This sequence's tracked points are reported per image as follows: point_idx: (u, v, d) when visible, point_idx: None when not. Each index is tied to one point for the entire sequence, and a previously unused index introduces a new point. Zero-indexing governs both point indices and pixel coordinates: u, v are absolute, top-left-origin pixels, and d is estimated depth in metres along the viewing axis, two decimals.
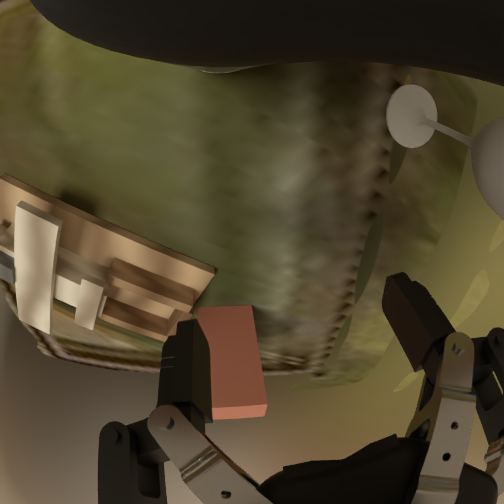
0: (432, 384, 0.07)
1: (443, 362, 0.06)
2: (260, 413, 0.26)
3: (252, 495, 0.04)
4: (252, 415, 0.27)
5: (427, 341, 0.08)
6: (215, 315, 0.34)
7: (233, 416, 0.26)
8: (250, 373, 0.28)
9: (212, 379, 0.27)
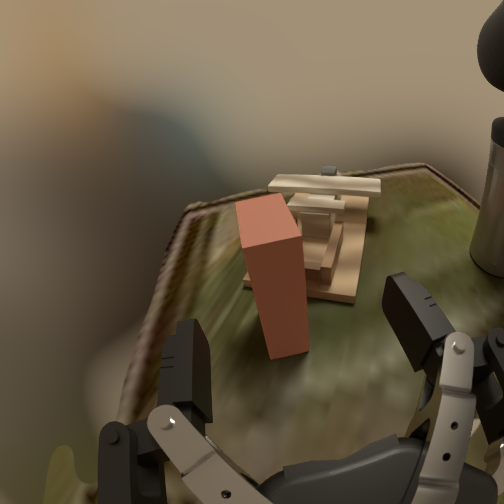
0: (432, 384, 0.07)
1: (443, 362, 0.06)
2: (260, 239, 0.18)
3: (252, 495, 0.04)
4: (249, 235, 0.19)
5: (427, 341, 0.08)
6: None
7: (249, 219, 0.21)
8: None
9: None
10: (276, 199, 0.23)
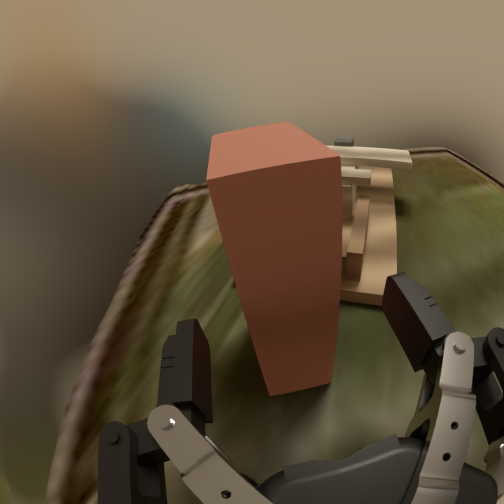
0: (432, 384, 0.07)
1: (443, 362, 0.06)
2: (248, 165, 0.08)
3: (252, 495, 0.04)
4: (227, 161, 0.09)
5: (427, 341, 0.08)
6: None
7: (230, 146, 0.10)
8: None
9: None
10: (281, 125, 0.12)
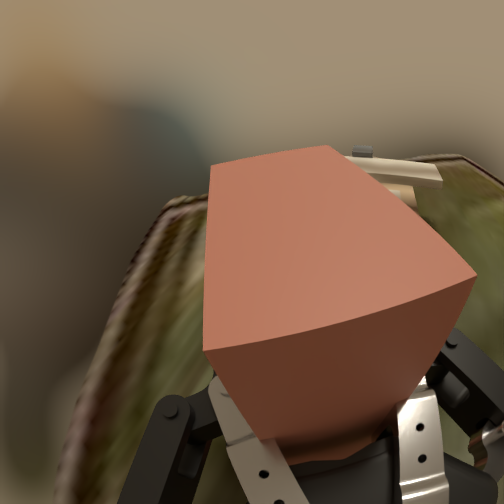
0: None
1: None
2: (300, 299, 0.03)
3: (288, 481, 0.05)
4: (246, 268, 0.04)
5: None
6: None
7: (245, 204, 0.06)
8: None
9: None
10: (321, 154, 0.08)
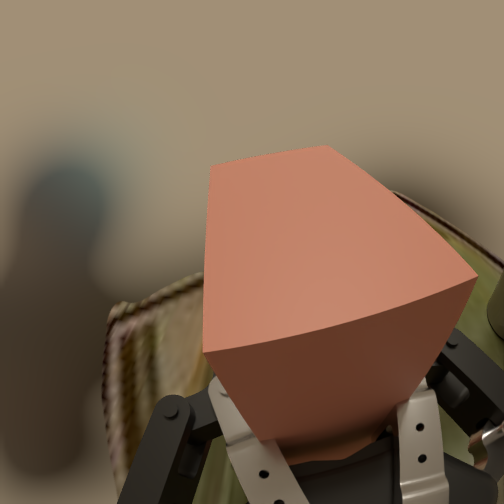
0: None
1: None
2: (300, 301, 0.03)
3: (289, 481, 0.05)
4: (246, 269, 0.04)
5: None
6: None
7: (245, 205, 0.06)
8: None
9: None
10: (322, 154, 0.08)
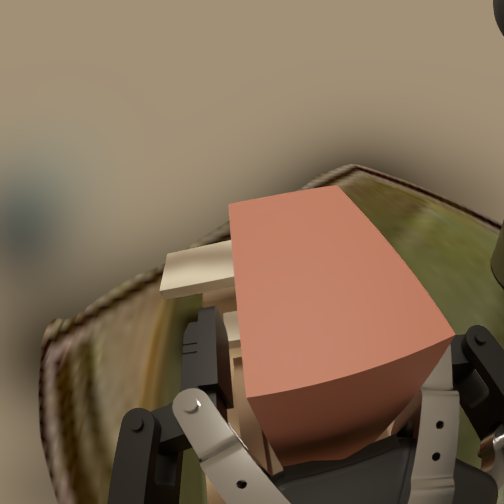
0: None
1: None
2: (317, 357, 0.04)
3: (267, 488, 0.04)
4: (273, 327, 0.05)
5: None
6: None
7: (266, 258, 0.07)
8: None
9: None
10: (332, 198, 0.09)
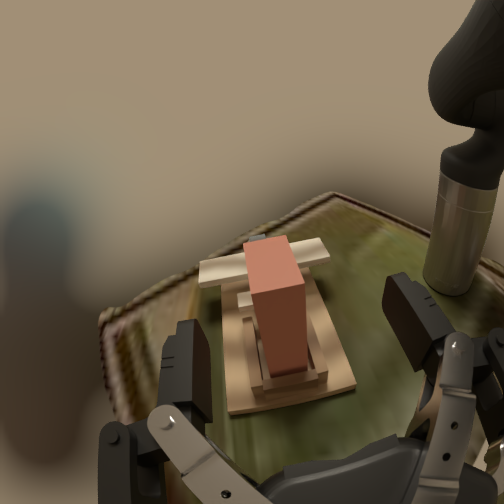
0: (432, 384, 0.07)
1: (443, 362, 0.06)
2: (267, 286, 0.20)
3: (252, 495, 0.04)
4: (257, 280, 0.21)
5: (427, 341, 0.08)
6: None
7: (256, 263, 0.23)
8: None
9: None
10: (281, 241, 0.25)
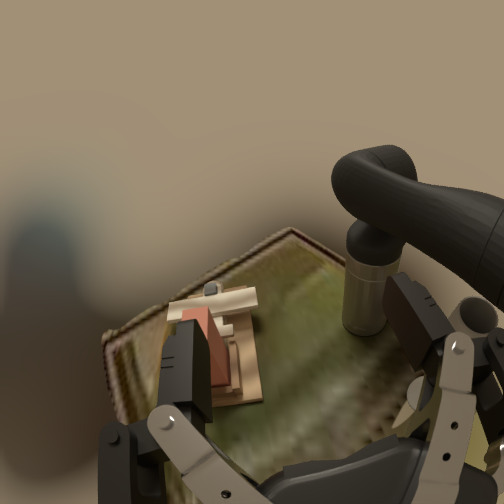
0: (432, 384, 0.07)
1: (443, 362, 0.06)
2: None
3: (252, 495, 0.04)
4: None
5: (427, 341, 0.08)
6: (228, 362, 0.45)
7: None
8: (215, 352, 0.38)
9: (214, 328, 0.41)
10: (204, 311, 0.39)
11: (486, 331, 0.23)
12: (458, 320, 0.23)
